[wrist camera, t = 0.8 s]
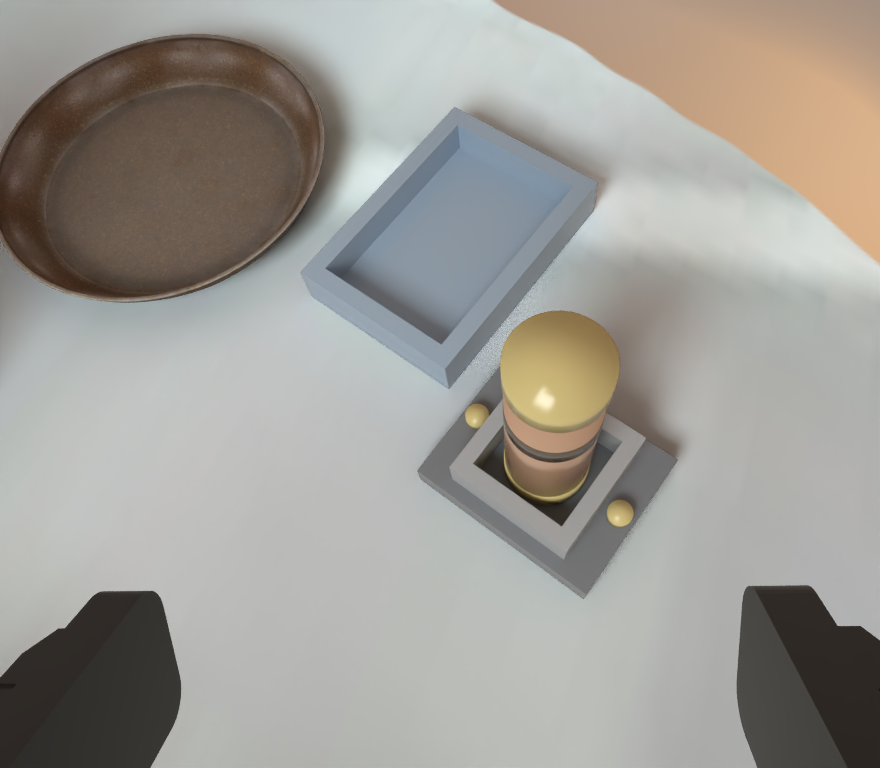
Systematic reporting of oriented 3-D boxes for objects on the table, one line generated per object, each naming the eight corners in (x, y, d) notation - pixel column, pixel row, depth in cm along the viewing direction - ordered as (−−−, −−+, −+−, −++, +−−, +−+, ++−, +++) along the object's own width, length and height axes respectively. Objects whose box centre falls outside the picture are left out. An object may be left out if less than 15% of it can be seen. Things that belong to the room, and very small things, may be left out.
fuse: (487, 473, 37) (476, 375, 26) (535, 411, 38) (544, 291, 27) (556, 522, 35) (576, 441, 25) (604, 456, 37) (642, 350, 26)
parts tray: (311, 296, 44) (300, 272, 41) (457, 137, 47) (454, 106, 45) (448, 388, 40) (444, 369, 38) (593, 210, 44) (598, 182, 42)
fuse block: (420, 479, 38) (412, 458, 35) (510, 365, 41) (510, 335, 37) (583, 598, 35) (590, 588, 32) (671, 468, 38) (686, 446, 34)
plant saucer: (228, 24, 54) (211, -17, 51) (399, 195, 46) (391, 159, 43) (-27, 180, 50) (-62, 145, 47) (114, 394, 42) (84, 370, 39)
